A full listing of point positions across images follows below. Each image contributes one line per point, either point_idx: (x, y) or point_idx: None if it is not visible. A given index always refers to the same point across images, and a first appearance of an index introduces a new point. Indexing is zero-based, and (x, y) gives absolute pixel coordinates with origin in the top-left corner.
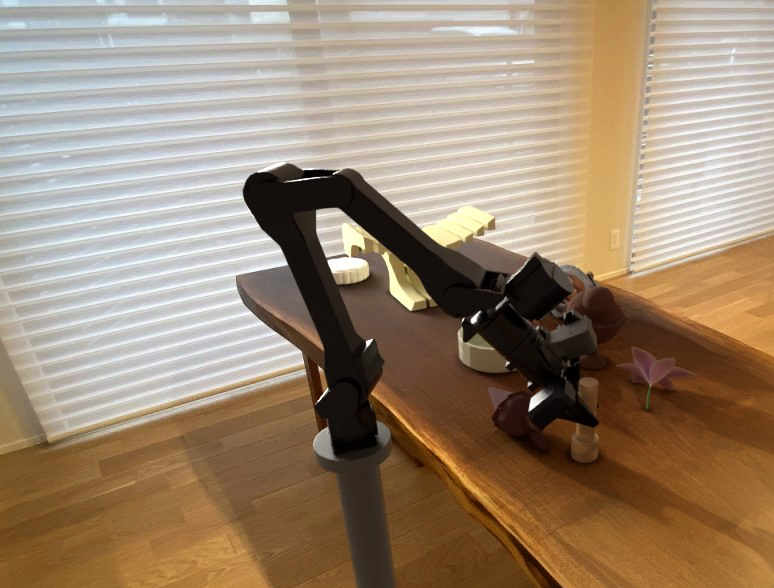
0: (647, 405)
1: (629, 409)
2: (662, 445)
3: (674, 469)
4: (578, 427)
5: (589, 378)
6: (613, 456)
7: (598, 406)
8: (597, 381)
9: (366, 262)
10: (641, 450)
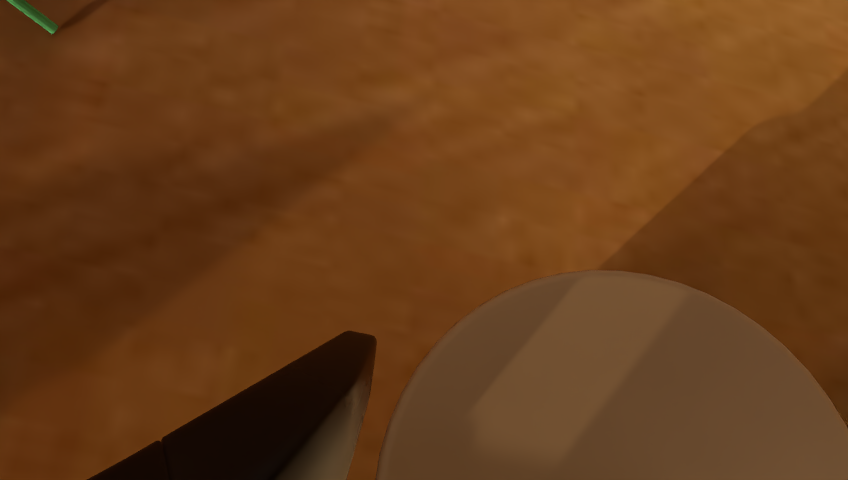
0: (38, 15)
1: (24, 120)
2: (414, 46)
3: (623, 46)
4: None
5: (447, 451)
6: None
7: (376, 342)
8: (616, 285)
9: None
10: (450, 154)
